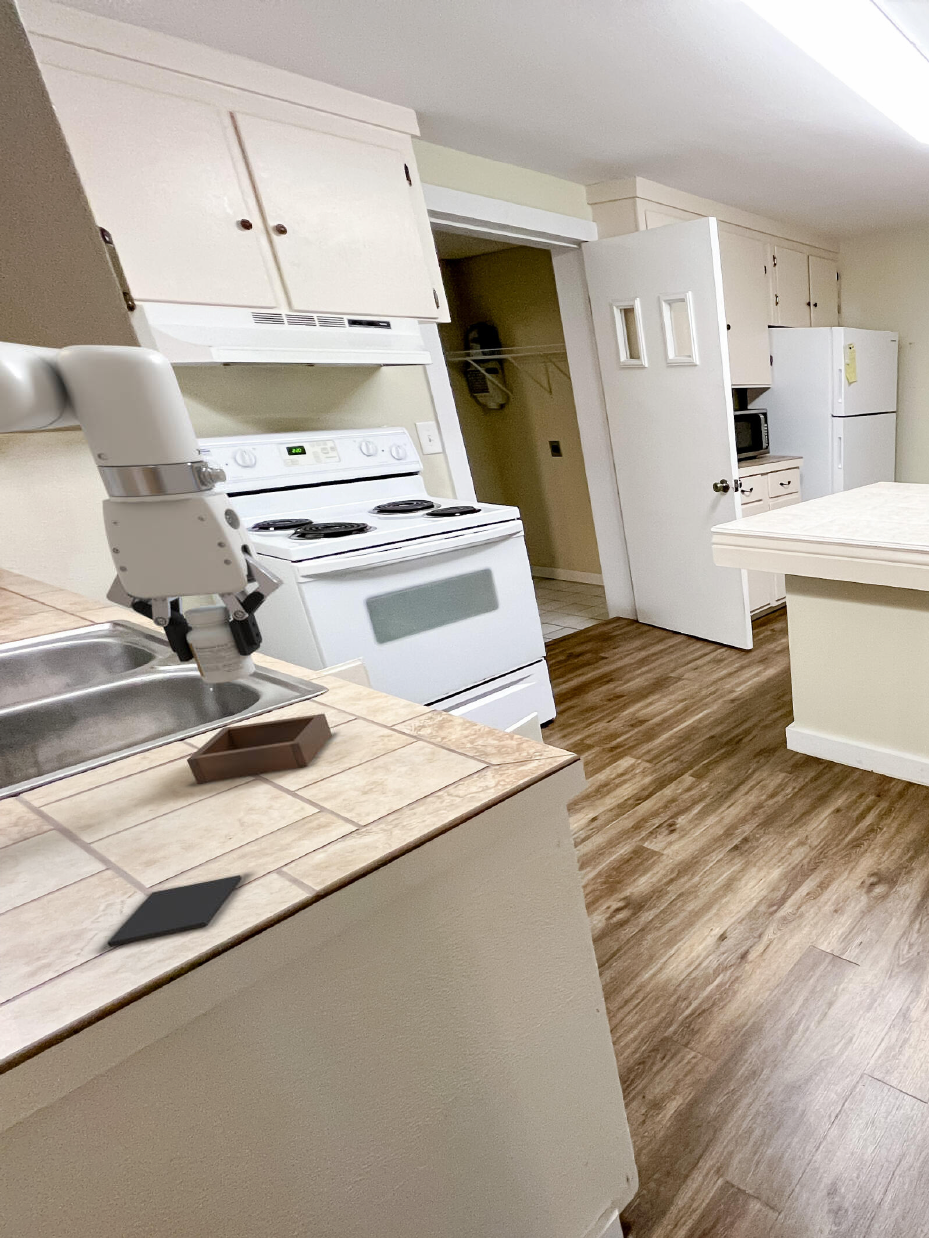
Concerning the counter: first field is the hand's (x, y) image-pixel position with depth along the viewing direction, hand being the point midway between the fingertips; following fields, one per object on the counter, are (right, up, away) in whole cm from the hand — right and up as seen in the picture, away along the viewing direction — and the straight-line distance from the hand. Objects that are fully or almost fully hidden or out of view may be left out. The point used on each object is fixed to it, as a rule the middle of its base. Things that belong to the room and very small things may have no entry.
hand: (221, 652), depth 74 cm
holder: (+1, -12, +5) cm, 13 cm away
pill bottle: (0, -3, +1) cm, 3 cm away
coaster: (+14, -21, -18) cm, 31 cm away
